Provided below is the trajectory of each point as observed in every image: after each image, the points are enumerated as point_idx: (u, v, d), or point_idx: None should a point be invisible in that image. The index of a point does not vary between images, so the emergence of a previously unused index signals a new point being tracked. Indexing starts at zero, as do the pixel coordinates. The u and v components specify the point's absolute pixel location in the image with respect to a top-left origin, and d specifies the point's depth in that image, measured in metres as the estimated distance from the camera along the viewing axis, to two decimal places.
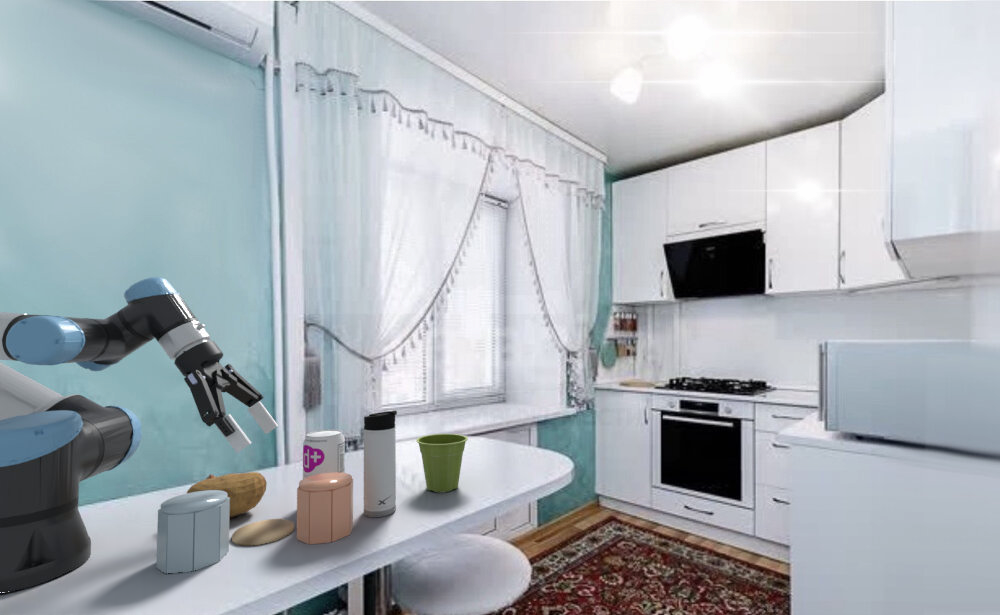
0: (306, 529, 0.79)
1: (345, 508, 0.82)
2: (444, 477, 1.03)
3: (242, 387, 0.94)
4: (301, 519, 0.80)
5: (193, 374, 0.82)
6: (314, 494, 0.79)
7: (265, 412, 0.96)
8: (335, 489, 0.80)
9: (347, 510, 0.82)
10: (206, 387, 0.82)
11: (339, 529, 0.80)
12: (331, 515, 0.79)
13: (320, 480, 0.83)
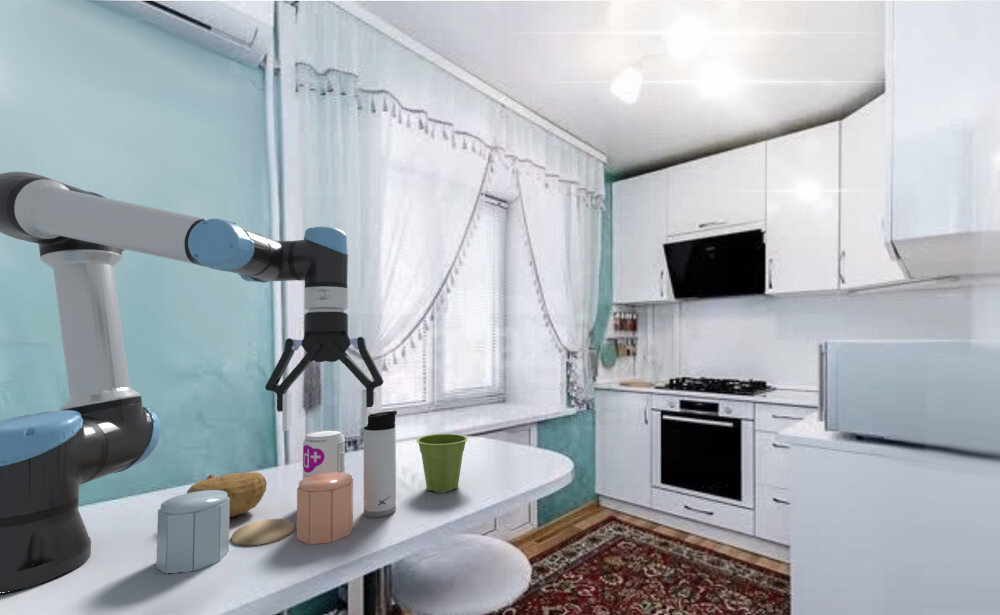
0: (306, 529, 0.79)
1: (345, 508, 0.82)
2: (444, 477, 1.03)
3: (352, 368, 0.84)
4: (301, 519, 0.80)
5: (286, 341, 0.83)
6: (314, 494, 0.79)
7: (362, 405, 0.84)
8: (335, 489, 0.80)
9: (347, 510, 0.82)
10: (283, 359, 0.83)
11: (339, 529, 0.80)
12: (331, 515, 0.79)
13: (320, 480, 0.83)
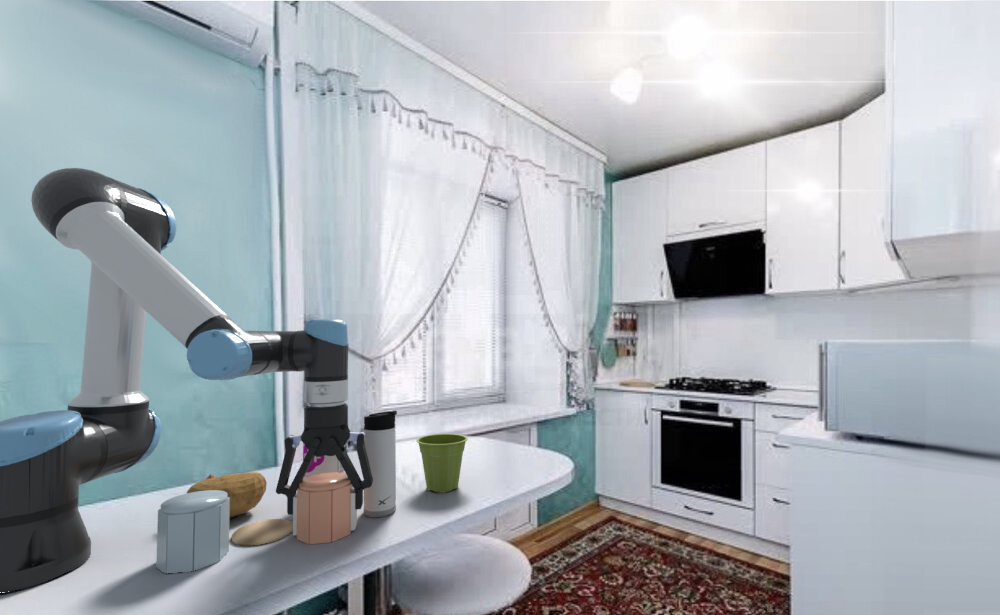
0: (306, 529, 0.79)
1: (345, 508, 0.82)
2: (444, 477, 1.03)
3: (345, 467, 0.83)
4: (301, 519, 0.80)
5: None
6: (314, 494, 0.79)
7: None
8: (335, 489, 0.80)
9: (347, 510, 0.82)
10: (286, 459, 0.82)
11: (339, 529, 0.80)
12: (331, 515, 0.79)
13: (320, 480, 0.83)
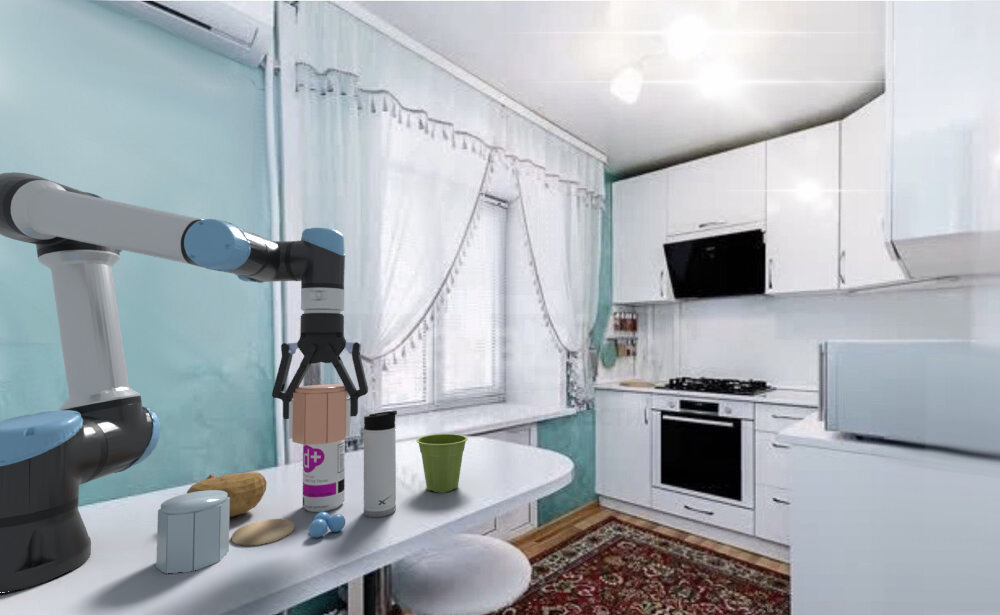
0: (302, 430, 0.80)
1: (341, 412, 0.83)
2: (444, 477, 1.03)
3: (341, 374, 0.84)
4: (297, 421, 0.81)
5: None
6: (310, 396, 0.80)
7: (346, 414, 0.84)
8: (330, 392, 0.81)
9: (342, 415, 0.83)
10: (283, 364, 0.83)
11: (334, 432, 0.81)
12: (326, 417, 0.80)
13: (316, 387, 0.84)
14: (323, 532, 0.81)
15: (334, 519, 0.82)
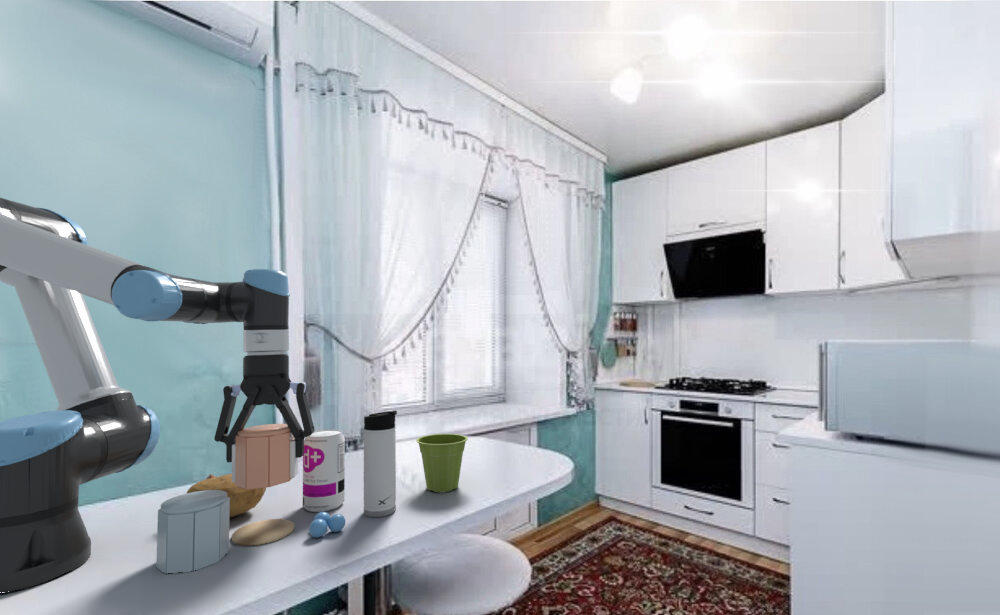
0: (243, 474, 0.79)
1: (284, 455, 0.82)
2: (444, 477, 1.03)
3: (285, 415, 0.84)
4: (239, 465, 0.80)
5: None
6: (251, 440, 0.80)
7: None
8: (272, 435, 0.81)
9: (286, 457, 0.82)
10: (225, 407, 0.82)
11: (277, 475, 0.81)
12: (268, 461, 0.80)
13: (260, 428, 0.84)
14: (323, 532, 0.81)
15: (334, 519, 0.82)
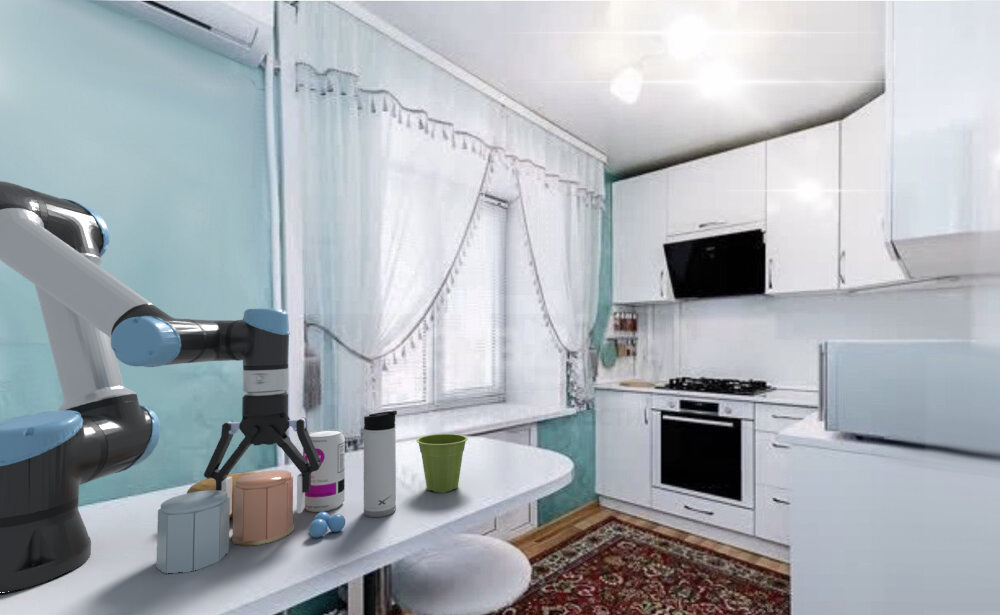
0: (241, 526, 0.79)
1: (282, 505, 0.82)
2: (444, 477, 1.03)
3: (288, 452, 0.84)
4: (237, 516, 0.80)
5: None
6: (248, 491, 0.79)
7: None
8: (271, 487, 0.80)
9: (284, 508, 0.82)
10: (220, 444, 0.82)
11: (275, 527, 0.80)
12: (266, 513, 0.79)
13: (258, 478, 0.83)
14: (323, 532, 0.81)
15: (334, 519, 0.82)
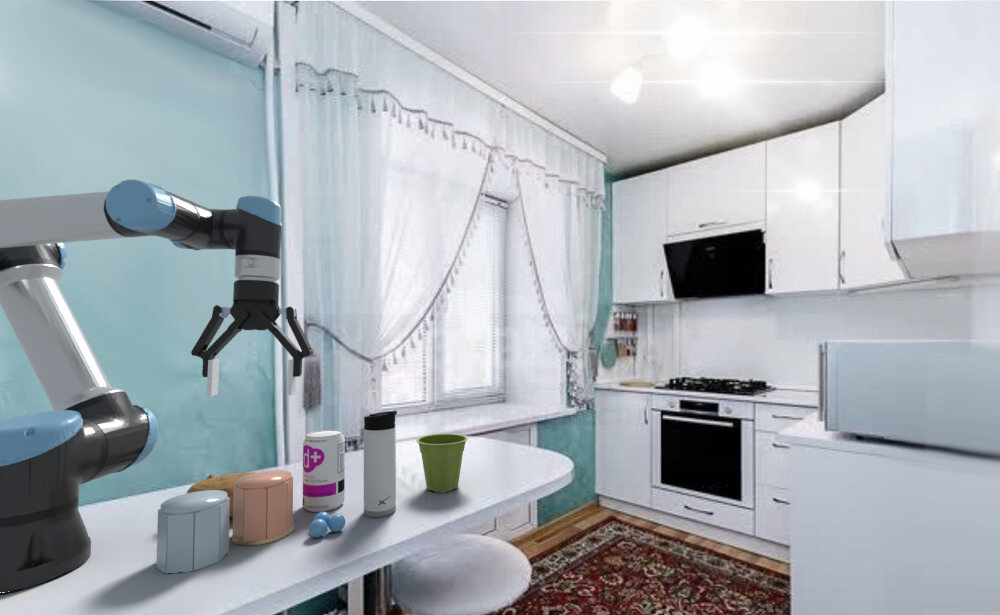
0: (241, 526, 0.79)
1: (282, 505, 0.82)
2: (444, 477, 1.03)
3: (279, 338, 0.85)
4: (237, 516, 0.80)
5: None
6: (248, 491, 0.79)
7: (288, 374, 0.85)
8: (271, 487, 0.80)
9: (284, 508, 0.82)
10: (210, 325, 0.83)
11: (275, 527, 0.80)
12: (266, 513, 0.79)
13: (258, 478, 0.83)
14: (323, 532, 0.81)
15: (334, 519, 0.82)
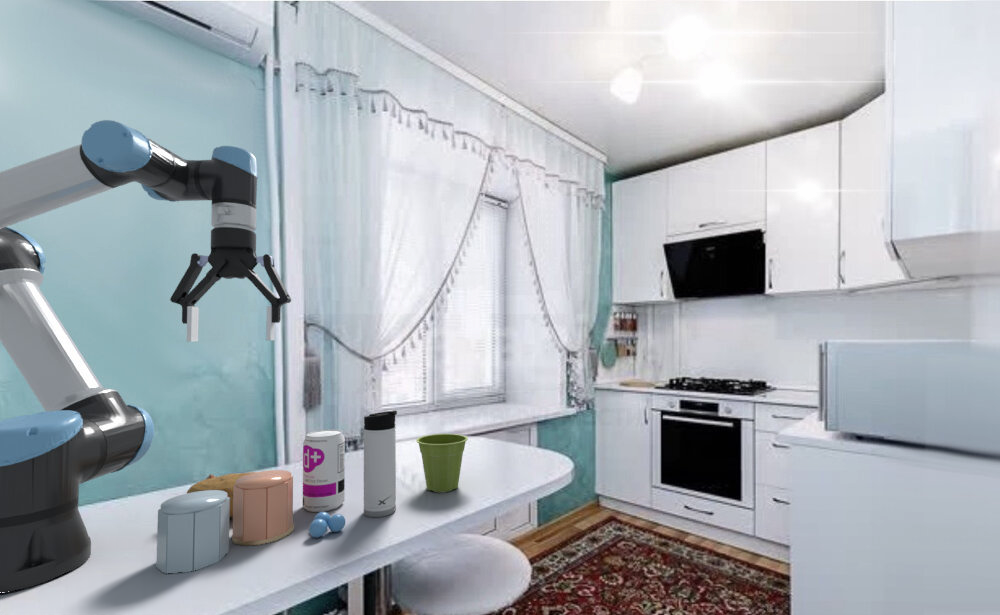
0: (241, 526, 0.79)
1: (282, 505, 0.82)
2: (444, 477, 1.03)
3: (257, 284, 0.87)
4: (237, 516, 0.80)
5: None
6: (248, 491, 0.79)
7: None
8: (271, 487, 0.80)
9: (284, 508, 0.82)
10: (188, 272, 0.85)
11: (275, 527, 0.80)
12: (266, 513, 0.79)
13: (258, 478, 0.83)
14: (323, 532, 0.81)
15: (334, 519, 0.82)
